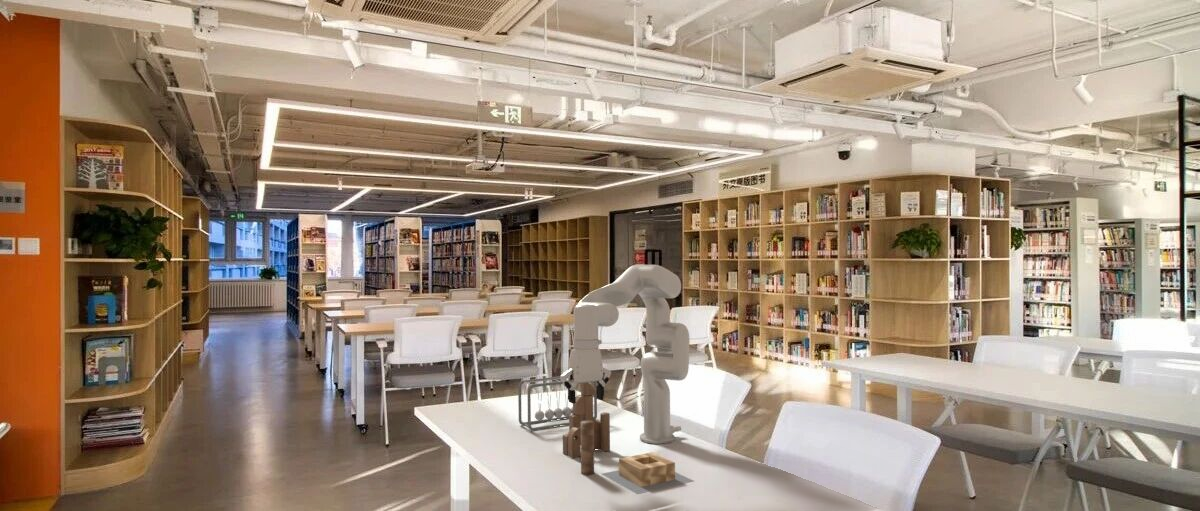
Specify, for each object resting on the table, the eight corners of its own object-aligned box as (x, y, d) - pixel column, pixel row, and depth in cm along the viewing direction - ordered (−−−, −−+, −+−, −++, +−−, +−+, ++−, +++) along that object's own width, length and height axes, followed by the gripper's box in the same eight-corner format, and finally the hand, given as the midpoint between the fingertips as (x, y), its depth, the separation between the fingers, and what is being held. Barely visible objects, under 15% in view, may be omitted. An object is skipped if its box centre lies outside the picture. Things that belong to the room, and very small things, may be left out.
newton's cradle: (528, 431, 253) (528, 385, 253) (518, 425, 263) (517, 380, 263) (597, 421, 268) (597, 377, 268) (585, 416, 277) (585, 373, 277)
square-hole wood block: (651, 468, 207) (651, 452, 207) (675, 479, 197) (674, 462, 197) (619, 475, 201) (618, 458, 201) (641, 487, 191) (641, 469, 191)
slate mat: (655, 464, 212) (655, 462, 212) (694, 482, 195) (694, 480, 195) (601, 475, 202) (601, 473, 202) (637, 495, 185) (637, 493, 185)
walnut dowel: (590, 471, 206) (589, 419, 206) (596, 475, 203) (596, 422, 203) (578, 473, 204) (578, 421, 204) (585, 477, 201) (584, 424, 201)
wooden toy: (571, 458, 220) (570, 382, 219) (562, 453, 225) (561, 379, 225) (611, 451, 227) (611, 378, 227) (601, 446, 233) (601, 375, 233)
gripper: (604, 341, 211) (604, 395, 211) (555, 345, 202) (555, 401, 202) (616, 344, 204) (616, 400, 204) (566, 348, 196) (566, 406, 196)
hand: (586, 400), depth 203 cm, fingers open, 9 cm apart
